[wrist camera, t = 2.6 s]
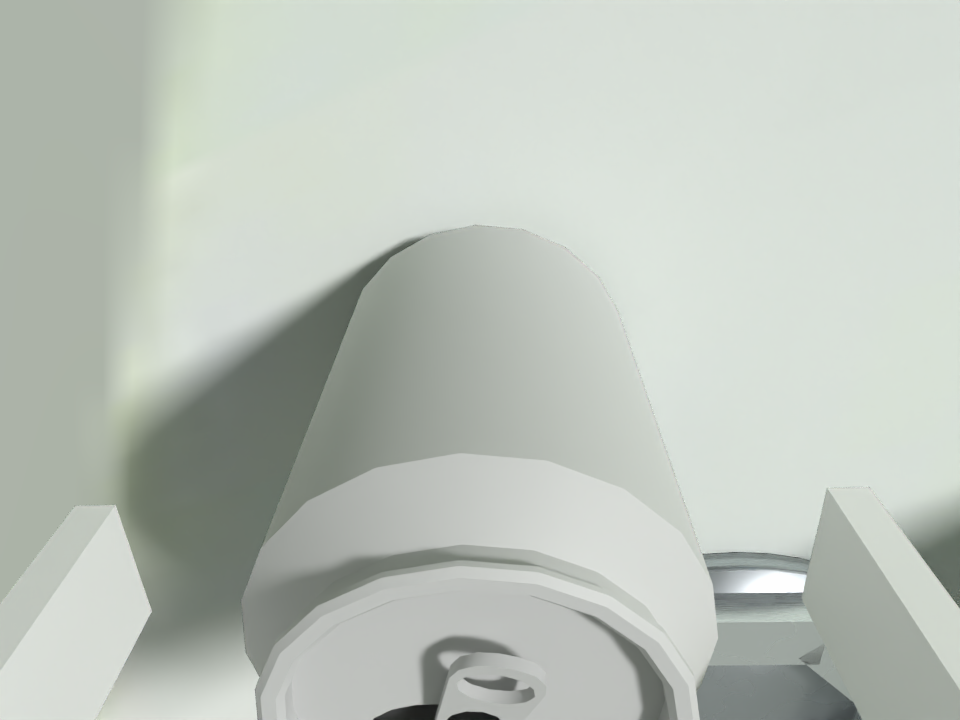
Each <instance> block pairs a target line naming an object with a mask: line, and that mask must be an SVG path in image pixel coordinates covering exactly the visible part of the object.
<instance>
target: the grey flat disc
mask: <svg viewBox="0 0 960 720" xmlns="http://www.w3.org/2000/svg"><path fill="white" fill-rule="evenodd" d="M703 558H704V560H705V563H706V566H707V569H708V572H709V575H710V578H711V581H712V584H713V591H714V601H715V611H716V621H717V631H718V640H717V643H716V645H715V648H714V651H713V654H712V656H711V659H710V662H709V665H708V667H707V670H706V673H705V676H704V678H703V681H702V684H701V687H700V688H699V689H698V691H697V692H696V695H697V702H698V710H699V718H700V720H862V718H861V716H860V714H859V712H858V710H857V708H856V706H855V704H854V702H853V700H852V698H851V696H850V694H849V692H848V690H847V688H846V686H845V684H844V682H843V680H842V678H841V676H840V674H839V672H838V670H837V668H836V666H835V664H834V662H833V660H832V658H831V656H830V654H829V652H828V650H827V648H826V646H825V644H824V642H823V640H822V638H821V636H820V634H819V632H818V630H817V628H816V626H815V624H814V622H813V620H812V618H811V616H810V614H809V612H808V610H807V608H806V606H805V604H804V602H803V600H802V594H803V590H804V585H805V581H806V577H807V572H808V568H809V564H810V561H809V560H805V559H801V558H796V557H789V556H782V555H774V554H764V553H721V554H705V555H703Z"/></svg>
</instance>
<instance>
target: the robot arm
mask: <svg viewBox="0 0 960 720" xmlns="http://www.w3.org/2000/svg"><path fill="white" fill-rule="evenodd" d="M802 600H803V602H804V604H805V606H806V608H807V610H808V612H809V614H810V616H811V618H812V620H813V622H814V624H815V626H816V628H817V630H818V632H819V634H820V636H821V638H822V640H823V642H824V644H825V646H826V648H827V650H828V652H829V654H830V656H831V658H832V660H833V662H834V664H835V666H836V668H837V670H838V672H839V674H840V676H841V678H842V680H843V682H844V684H845V686H846V688H847V690H848V692H849V694H850V696H851V698H852V700H853V702H854V704H855V706H856V708H857V710H858V712H859V714H860V716H861V718H862V720H960V608H959V607H958V606H957V604H956V603H955V602H954V600H953V599H952V597H951V596H950V595H949V593H948V592H947V591H946V589H945V588H944V587H943V585H942V584H941V583H940V581H939V580H938V579H937V577H936V576H935V574H934V573H933V572H932V570H931V569H930V568H929V566H928V565H927V564H926V562H925V561H924V560H923V558H922V557H921V556H920V554H919V553H918V552H917V550H916V549H915V547H914V546H913V545H912V543H911V542H910V541H909V539H908V538H907V537H906V535H905V534H904V533H903V531H902V530H901V529H900V527H899V526H898V524H897V523H896V522H895V520H894V519H893V518H892V516H891V515H890V514H889V512H888V511H887V510H886V508H885V507H884V506H883V504H882V503H881V502H880V500H879V499H878V497H877V496H876V495H875V493H874V492H873V491H872V489H871V488H870V487H843V488H827V491H826V495H825V499H824V503H823V508H822V512H821V516H820V521H819V525H818V529H817V534H816V538H815V542H814V546H813V551H812V555H811V559H810V564H809V568H808V572H807V577H806V581H805V585H804V590H803V594H802ZM151 612H152V610H151V607H150V604H149V601H148V598H147V595H146V592H145V589H144V587H143V584H142V581H141V578H140V575H139V572H138V569H137V566H136V563H135V560H134V557H133V554H132V551H131V548H130V546H129V543H128V540H127V537H126V534H125V531H124V528H123V525H122V522H121V519H120V516H119V513H118V510H117V507H116V505H84V506H74V508H73V509H72V510H71V512H70V513H69V514H68V516H67V517H66V518H65V520H64V521H63V522H62V523H61V525H60V526H59V528H58V529H57V530H56V531H55V533H54V534H53V535H52V536H51V538H50V539H49V540H48V542H47V543H46V544H45V546H44V547H43V548H42V549H41V551H40V552H39V553H38V555H37V556H36V557H35V559H34V560H33V561H32V563H31V564H30V565H29V566H28V568H27V569H26V570H25V572H24V573H23V575H22V576H21V577H20V578H19V579H18V581H17V582H16V583H15V585H14V586H13V587H12V589H11V590H10V591H9V593H8V594H7V595H6V596H5V598H4V599H3V600H2V602H1V603H0V720H96V718H97V716H98V714H99V712H100V710H101V708H102V706H103V704H104V703H105V701H106V699H107V697H108V695H109V693H110V691H111V689H112V687H113V685H114V683H115V681H116V679H117V678H118V676H119V674H120V672H121V670H122V668H123V666H124V664H125V662H126V660H127V658H128V656H129V655H130V653H131V651H132V649H133V647H134V645H135V643H136V641H137V639H138V637H139V635H140V633H141V632H142V630H143V628H144V626H145V624H146V622H147V620H148V618H149V616H150V614H151Z"/></svg>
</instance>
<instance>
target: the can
mask: <svg viewBox="0 0 960 720" xmlns="http://www.w3.org/2000/svg"><path fill="white" fill-rule="evenodd" d="M241 606H242V617H243V628H244V639H245V649H246V654H247V655H248V657H249V659H250V661H251V663H252V664H253V666H254V668H255V670H256V672H257V673H258V675H259V677H260V678H259V680H258V682H257V685H256V688H255V696H256V707H257V719H258V720H700V718H699V710H698V702H697V695H696V692H697V691H698V689H699V688H700V687H701V684H702V681H703V678H704V676H705V673H706V670H707V667H708V665H709V662H710V659H711V656H712V654H713V651H714V648H715V645H716V643H717V640H718V631H717V621H716V611H715V601H714V591H713V584H712V581H711V578H710V575H709V572H708V569H707V566H706V563H705V560H704V558H703V555H702V552H701V549H700V546H699V543H698V540H697V537H696V534H695V531H694V529H693V526H692V523H691V520H690V517H689V514H688V511H687V508H686V505H685V502H684V500H683V497H682V494H681V491H680V488H679V485H678V482H677V479H676V476H675V473H674V471H673V468H672V465H671V462H670V459H669V456H668V453H667V450H666V447H665V444H664V442H663V439H662V436H661V433H660V430H659V427H658V424H657V421H656V418H655V415H654V413H653V410H652V407H651V404H650V401H649V398H648V395H647V392H646V389H645V386H644V384H643V381H642V378H641V375H640V372H639V369H638V366H637V363H636V360H635V357H634V355H633V352H632V349H631V346H630V343H629V340H628V337H627V334H626V331H625V328H624V326H623V323H622V320H621V317H620V314H619V312H618V310H617V308H616V306H615V304H614V303H613V301H612V299H611V297H610V295H609V294H608V292H607V290H606V288H605V286H604V285H603V283H602V281H601V279H600V277H599V276H598V275H597V274H595V273H594V272H593V271H592V270H591V269H590V268H589V267H588V266H586V265H585V264H584V263H583V262H582V261H581V260H580V259H578V258H577V257H576V256H575V255H574V254H573V253H572V252H571V251H569V250H568V249H567V248H566V247H564V246H561V245H559V244H556V243H554V242H552V241H549V240H547V239H545V238H542V237H540V236H538V235H535V234H533V233H531V232H528V231H526V230H523V229H513V228H503V227H492V226H482V225H473V226H468V227H464V228H459V229H454V230H450V231H445V232H440V233H435V234H431V235H428V236H427V237H425V238H423V239H421V240H420V241H418V242H416V243H414V244H413V245H411V246H409V247H407V248H406V249H404V250H402V251H401V252H399V253H397V254H395V255H394V256H392V257H390V258H389V260H388V261H387V262H386V263H385V264H384V265H383V266H382V268H381V269H380V270H379V271H378V272H377V273H376V274H375V276H374V277H373V278H372V279H371V280H370V281H369V282H368V284H367V285H366V286H365V287H364V288H363V289H362V292H361V294H360V297H359V300H358V302H357V305H356V307H355V310H354V312H353V315H352V317H351V320H350V322H349V325H348V328H347V330H346V333H345V335H344V338H343V340H342V343H341V345H340V348H339V350H338V353H337V356H336V358H335V361H334V363H333V366H332V368H331V371H330V373H329V376H328V378H327V381H326V383H325V386H324V389H323V391H322V394H321V396H320V399H319V401H318V404H317V406H316V409H315V411H314V414H313V417H312V419H311V422H310V424H309V427H308V429H307V432H306V434H305V437H304V439H303V442H302V445H301V447H300V450H299V452H298V455H297V457H296V460H295V462H294V465H293V467H292V470H291V473H290V475H289V478H288V480H287V483H286V485H285V488H284V490H283V493H282V495H281V498H280V500H279V503H278V506H277V508H276V511H275V513H274V516H273V518H272V521H271V523H270V526H269V528H268V531H267V534H266V536H265V539H264V541H263V544H262V546H261V549H260V551H259V554H258V557H257V559H256V562H255V565H254V567H253V570H252V573H251V575H250V578H249V580H248V583H247V586H246V588H245V591H244V594H243V596H242V599H241Z"/></svg>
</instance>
